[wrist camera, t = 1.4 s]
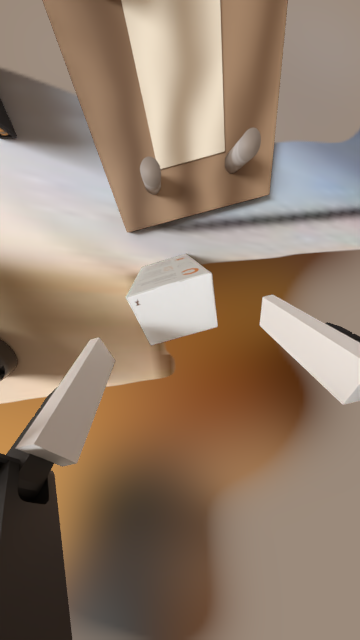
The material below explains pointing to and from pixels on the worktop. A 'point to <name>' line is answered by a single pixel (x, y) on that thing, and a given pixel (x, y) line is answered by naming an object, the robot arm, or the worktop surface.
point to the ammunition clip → (5, 124)
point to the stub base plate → (176, 98)
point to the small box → (173, 299)
